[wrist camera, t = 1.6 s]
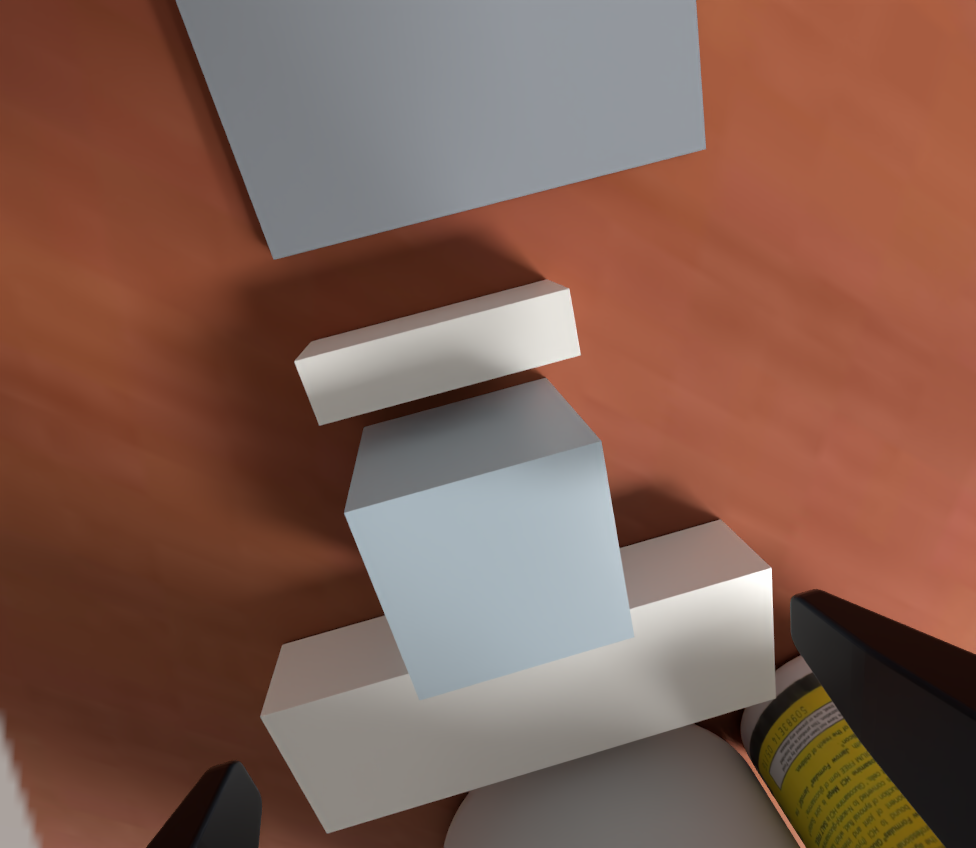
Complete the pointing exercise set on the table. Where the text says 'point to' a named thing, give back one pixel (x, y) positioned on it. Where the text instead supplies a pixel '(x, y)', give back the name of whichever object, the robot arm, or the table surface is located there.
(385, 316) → the table surface
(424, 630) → the pale blue cube
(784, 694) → the pill bottle
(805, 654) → the robot arm
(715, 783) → the cylinder vase
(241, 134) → the mat
